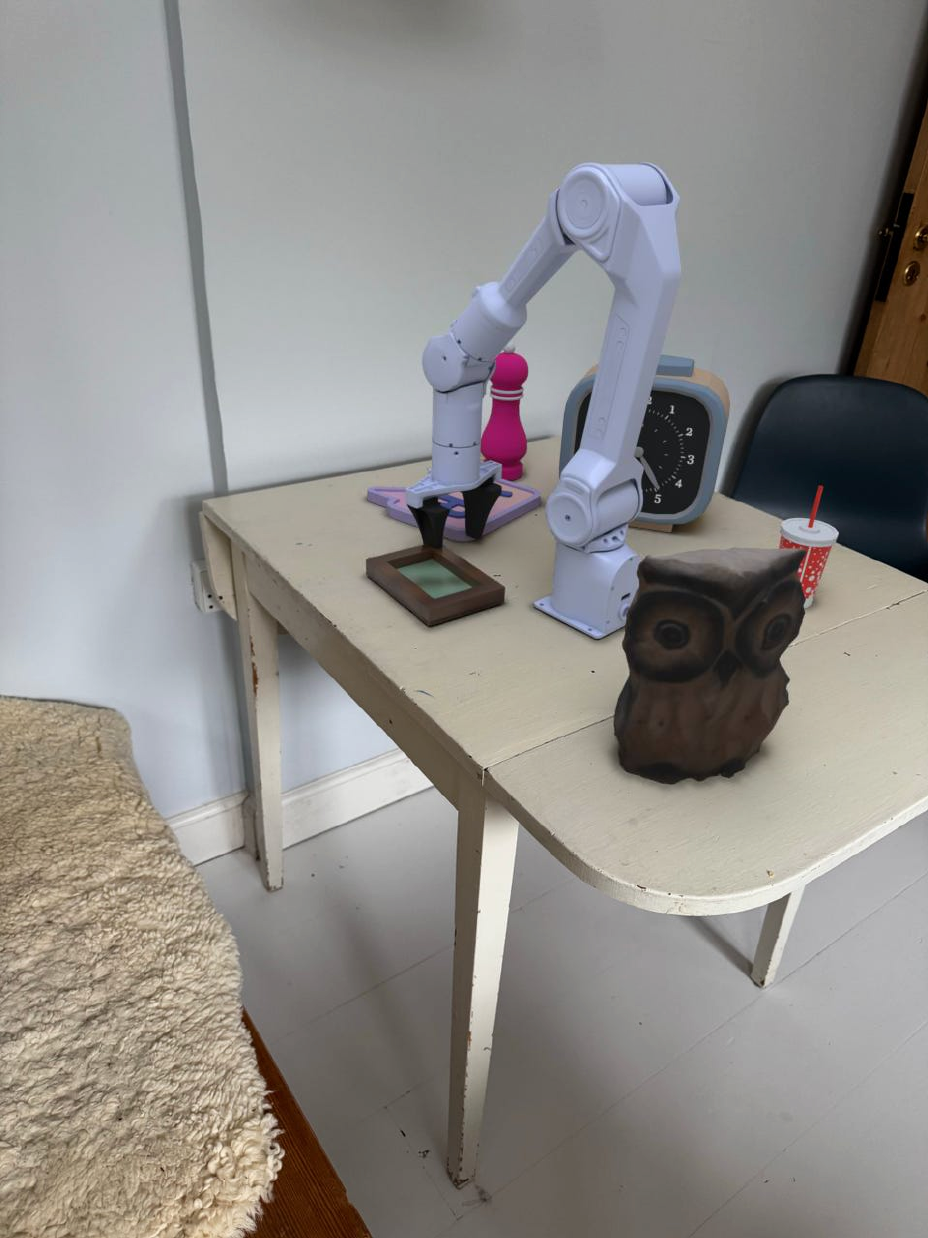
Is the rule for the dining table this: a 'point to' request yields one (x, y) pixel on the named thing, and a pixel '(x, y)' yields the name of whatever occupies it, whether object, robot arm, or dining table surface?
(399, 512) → the icon
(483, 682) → the dining table surface
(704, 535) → the dining table surface
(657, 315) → the robot arm
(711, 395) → the alarm clock
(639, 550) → the dining table surface
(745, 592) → the owl
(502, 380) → the pepper mill
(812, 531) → the beverage cup
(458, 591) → the frame
